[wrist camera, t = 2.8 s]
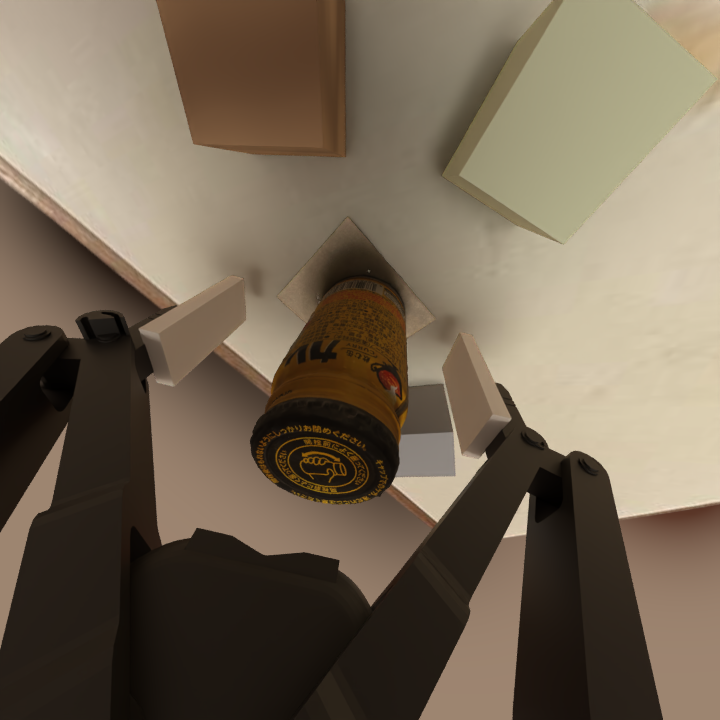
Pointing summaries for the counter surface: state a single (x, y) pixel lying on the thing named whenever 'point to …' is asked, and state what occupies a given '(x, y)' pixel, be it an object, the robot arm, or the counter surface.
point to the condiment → (341, 376)
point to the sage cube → (575, 113)
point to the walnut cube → (261, 73)
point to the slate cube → (426, 435)
